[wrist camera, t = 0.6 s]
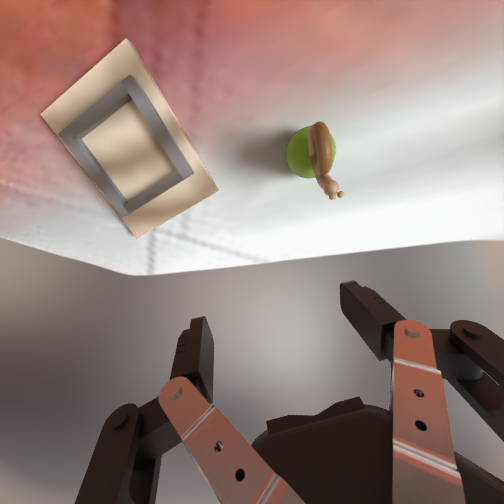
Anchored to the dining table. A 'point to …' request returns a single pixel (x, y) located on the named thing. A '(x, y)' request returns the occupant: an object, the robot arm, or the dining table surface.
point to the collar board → (130, 142)
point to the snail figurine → (314, 156)
